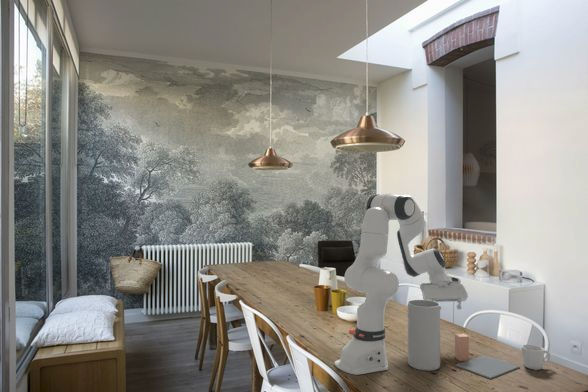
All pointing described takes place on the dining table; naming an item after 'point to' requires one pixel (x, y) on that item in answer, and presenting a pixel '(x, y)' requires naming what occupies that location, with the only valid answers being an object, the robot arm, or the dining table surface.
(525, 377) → the dining table surface
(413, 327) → the cylinder vase
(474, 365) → the charcoal mat
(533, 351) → the cup
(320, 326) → the dining table surface
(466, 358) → the terracotta block
